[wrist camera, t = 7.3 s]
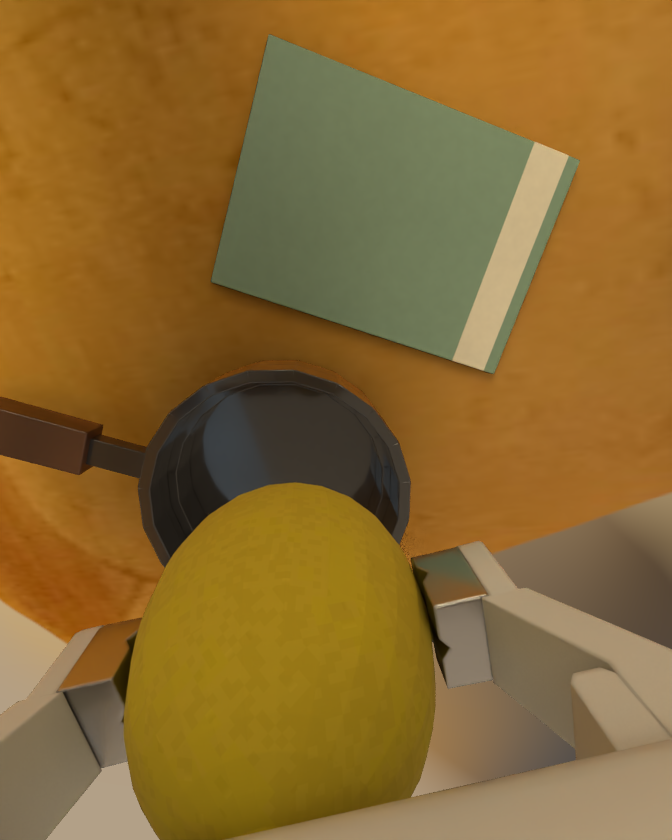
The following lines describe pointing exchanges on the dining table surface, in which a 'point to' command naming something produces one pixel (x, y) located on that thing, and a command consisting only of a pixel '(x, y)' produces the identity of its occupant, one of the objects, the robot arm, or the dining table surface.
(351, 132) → the tea towel
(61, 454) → the pan handle
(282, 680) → the lemon
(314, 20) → the dining table surface
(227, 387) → the pan
